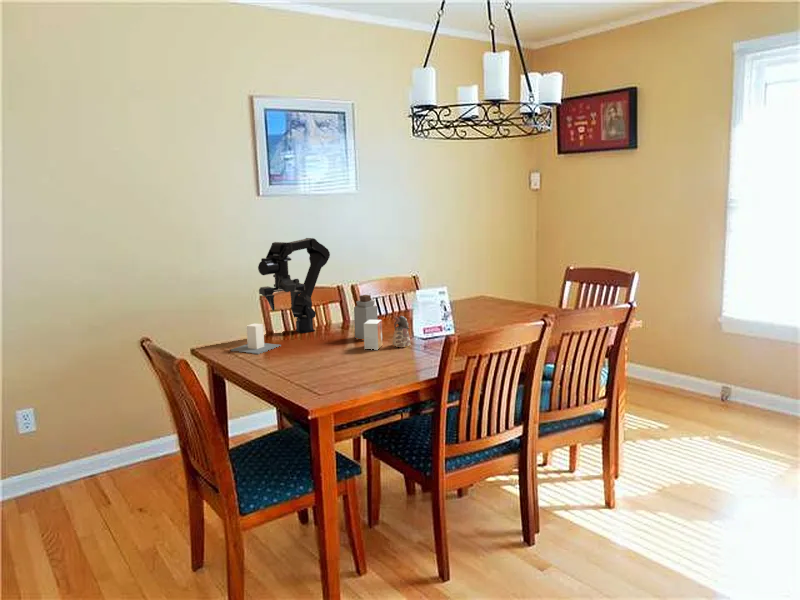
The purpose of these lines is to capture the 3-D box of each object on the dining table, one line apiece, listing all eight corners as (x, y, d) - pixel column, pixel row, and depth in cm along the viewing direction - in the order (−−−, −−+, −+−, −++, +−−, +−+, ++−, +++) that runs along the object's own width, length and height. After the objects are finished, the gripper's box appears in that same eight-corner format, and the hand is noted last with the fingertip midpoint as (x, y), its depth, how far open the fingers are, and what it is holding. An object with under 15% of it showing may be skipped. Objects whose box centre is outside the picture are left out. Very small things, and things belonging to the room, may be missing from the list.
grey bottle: (378, 337, 263) (376, 295, 260) (367, 341, 258) (365, 297, 255) (366, 335, 267) (364, 293, 264) (355, 338, 262) (353, 296, 259)
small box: (378, 350, 242) (377, 323, 240) (364, 350, 243) (363, 323, 242) (383, 345, 250) (382, 319, 248) (369, 345, 251) (368, 319, 249)
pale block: (255, 345, 253) (254, 323, 251) (264, 346, 251) (262, 324, 249) (247, 348, 249) (246, 325, 247) (256, 349, 247) (255, 326, 245)
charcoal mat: (253, 342, 259) (253, 341, 259) (281, 346, 253) (281, 344, 253) (229, 350, 247) (229, 349, 247) (258, 354, 241) (258, 353, 241)
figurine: (412, 347, 246) (412, 317, 244) (394, 348, 245) (394, 318, 243) (408, 343, 253) (408, 313, 251) (391, 344, 252) (390, 314, 249)
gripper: (269, 276, 252) (271, 314, 255) (310, 271, 263) (312, 308, 266) (257, 273, 261) (259, 311, 263) (297, 269, 272) (299, 305, 275)
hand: (283, 309), depth 267 cm, fingers open, 9 cm apart
